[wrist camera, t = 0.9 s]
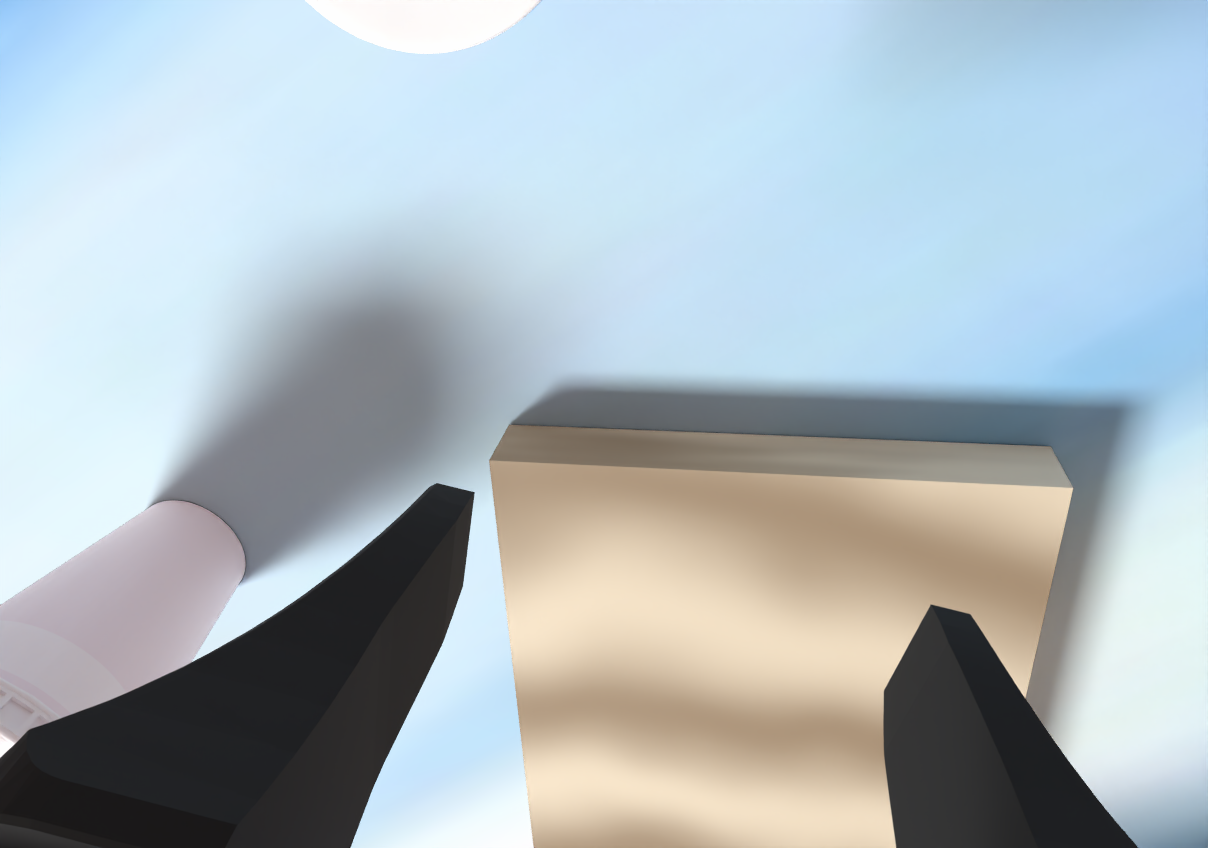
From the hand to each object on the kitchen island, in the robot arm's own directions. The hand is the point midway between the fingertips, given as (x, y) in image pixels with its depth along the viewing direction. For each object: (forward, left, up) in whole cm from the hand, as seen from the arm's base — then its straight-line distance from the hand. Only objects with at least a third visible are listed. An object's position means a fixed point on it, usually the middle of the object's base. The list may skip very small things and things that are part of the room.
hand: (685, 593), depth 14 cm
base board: (-12, -1, -10) cm, 15 cm away
